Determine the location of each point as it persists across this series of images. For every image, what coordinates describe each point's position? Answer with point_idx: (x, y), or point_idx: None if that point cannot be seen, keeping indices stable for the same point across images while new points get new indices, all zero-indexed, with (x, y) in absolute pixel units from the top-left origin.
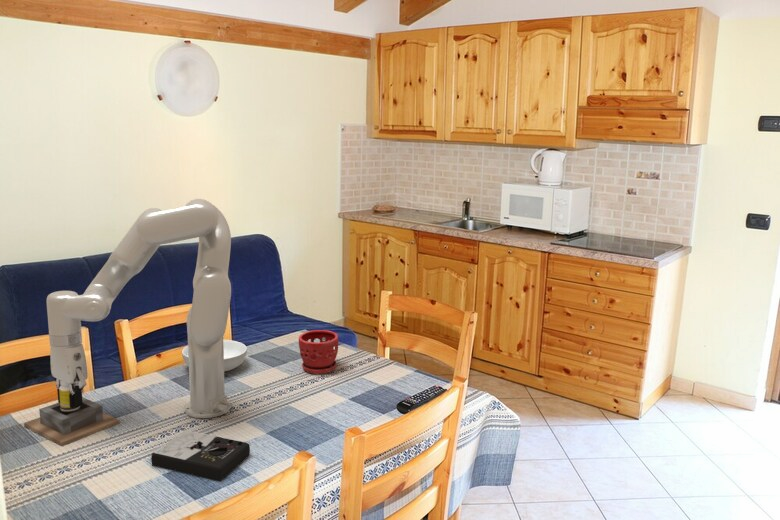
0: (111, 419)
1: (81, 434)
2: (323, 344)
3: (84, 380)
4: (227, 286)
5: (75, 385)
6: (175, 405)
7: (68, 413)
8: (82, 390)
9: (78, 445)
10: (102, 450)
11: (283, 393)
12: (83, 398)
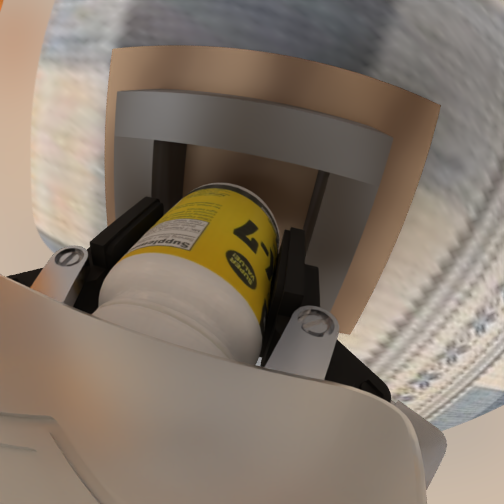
0: (407, 113)
1: (379, 275)
2: None
3: (430, 475)
4: None
5: (233, 347)
6: None
7: (178, 174)
8: (336, 325)
9: (397, 304)
10: (476, 298)
11: None
12: (175, 101)
